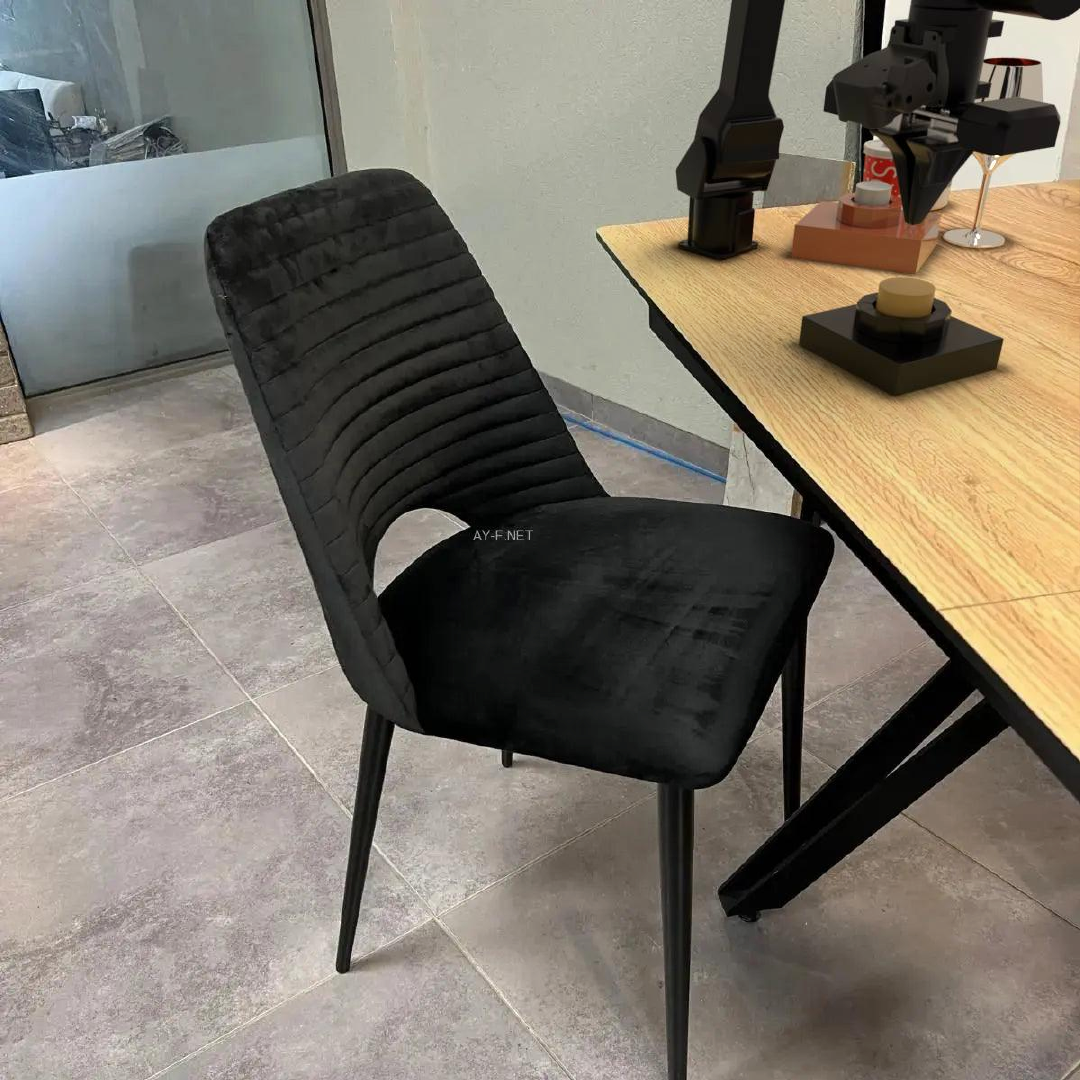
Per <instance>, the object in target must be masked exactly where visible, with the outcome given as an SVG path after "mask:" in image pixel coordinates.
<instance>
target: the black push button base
mask: <svg viewBox="0 0 1080 1080" xmlns="http://www.w3.org/2000/svg"><path fill="white" fill-rule="evenodd" d="M877 296H878V291H877V292H873V293H869V294H865V295H863V296H862V297H861V298H860V299H859V300H857V302H856V303H854V304H851V305H846V306H842V307H836V308H832V309H828V310H824V311H819V312H814V313H811V314H806V315H802V317H801V323H800V332H799V341H798V345H799V346H800V347H802V348H803V349H805V350H807V351H809V352H811V353H813V354H814V355H816V356H819V357H820V358H822V359H824V360H826V361H827V362H829V363H831V364H833V365H834V366H837V367H838V368H840V369H843V370H844V371H846V372H847V373H850V374H852V375H853V376H855V377H857V378H859V379H860V380H863V381H865V382H866V383H868V384H870V385H872V386H874V387H876V388H878V389H879V390H881V391H883V392H884V393H886V394H888V395H890V396H892V397H898V396H901V395H902V396H903V395H906V394H910V393H913V392H917V391H920V390H924V389H928V388H931V387H935V386H939V385H943V384H946V383H950V382H954V381H957V380H960V379H964V378H968V377H971V376H972V377H973V376H975V375H979V374H984V373H986V372H990V371H994V370H997V369H998V365H999V361H1000V357H1001V352H1002V348H1003V343H1004V340H1005V339H1004V338H1003V337H1001V336H999V335H997V334H995V333H991V332H990V331H987V330H985V329H983V328H980V327H977V326H975V325H973V324H970V323H968V322H965V321H964V320H962V319H959V318H958V317H954V316H952V313H953V312H952V309H951V308H950V306H949V305H948V303H947V302H945V301H943V300H941V299H939V298H936V297H934V300H933V305H932V310H931V315H928V316H923V317H919V318H911V317H897V316H892V315H887V314H884V313H882V312H880V311H878V310H876V302H877Z"/></svg>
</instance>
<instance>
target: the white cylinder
mask: <svg viewBox="0 0 1080 1080" xmlns="http://www.w3.org/2000/svg"><path fill="white" fill-rule="evenodd" d="M891 190H892V186H891V185H890V184H888V183H884V182H878V181H865V182H863V181H860V182H858V183H856V184H855V191H854V193H855V196H854V203H857V204H860V205H868V206H884V205H888V204H889V202H890V196H891Z"/></svg>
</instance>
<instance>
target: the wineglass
mask: <svg viewBox="0 0 1080 1080" xmlns="http://www.w3.org/2000/svg"><path fill="white" fill-rule="evenodd" d="M1043 80H1044V79H1043V62H1042V61H1040V60H1037V59H1031V58H1026V57H1025V58H1024V57H1007V56H1005V57H1004V56H1003V57H988V58H984V62H983V67H982V72H981V77H980V81H984V82H989V83H992V84H991V89H990V93H989V98H982V99H975V103H977V102H984V101H990V100H997V99H1004V98H1011V97H1020V98H1025V99H1030V100H1035V101H1040V102H1044V82H1043ZM1015 155H1016V154H1010V155H1005V156H991V155H986V154H982V153H978V152H973V153H972V155H971V156H973V158H974V159H975V160H976V161H977V163H978V164H979V165H980V168H981V170H982V178H981V179H982V180H981V185H980V189H979V194H978V200H977V204H976V208H975V213H974V218H973V222H972V224H971V227H970V228H955V229H951V230H947V231H946V232H944V233H943V236H942V237H943V240H944V241H945V242H947V243H949V244H951V245H954V246H959V247H962V248H969V249H994V248H997V247H1000V246H1002V245H1004V244H1005V241H1006V239H1005V237H1004V236H1003V235H1001V234H999V233H996V232H994V231H989V230H984V229H982V223H983V217H984V211H985V207H986V202H987V197H988V192H989V187H990V183H991V179H992V175H993V173H994V172H995V170H996V169H997V168H999V167H1000V166H1001V165H1002V164H1003V163H1005V162H1006V161H1007V160H1009V159H1010V158H1012V157H1013V156H1015Z"/></svg>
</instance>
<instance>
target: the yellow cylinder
mask: <svg viewBox="0 0 1080 1080" xmlns="http://www.w3.org/2000/svg"><path fill="white" fill-rule="evenodd" d="M936 290H937V289H936V286H935V285H934V284H933V283H932V282H929V281H927V280H924V279H920V278H916V277H905V276H904V277H902V276H901V277H900V276H898V277H889V278H886V279H882V280H881V281H880V282H879V285H878V291H877V292H878V296H877V302H876V310H878V311H880V312H882V313H884V314H887V315H892V316H897V317H911V318H919V317H923V316H928V315H931V310H932V305H933V300H934V298H935V295H936Z"/></svg>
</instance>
